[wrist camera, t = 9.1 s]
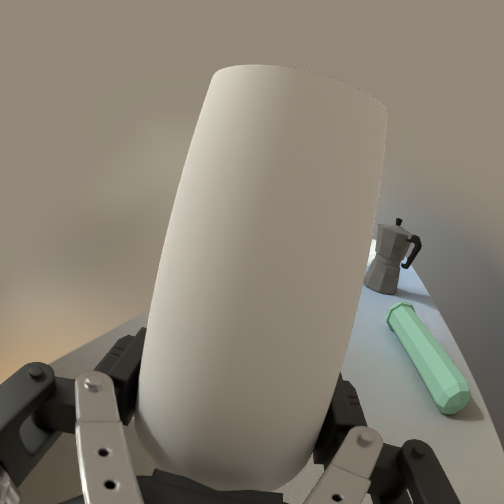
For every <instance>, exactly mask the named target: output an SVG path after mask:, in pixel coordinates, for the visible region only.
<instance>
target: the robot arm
mask: <svg viewBox="0 0 504 504" xmlns="http://www.w3.org/2000/svg"><path fill="white" fill-rule="evenodd" d="M146 331H147V328H144V327H142V328H141V329H140V331H139V332H138V333H137V335H136V336H135V337H134V336H131V335H127V336H125V337H123V338H121V339H119V340H118V341H117V342H116V343H115V345H114V346H113V347H112V348H111V350H110V351H109V353H107V354H106V356H105V357H104V358H103V359H102V360H101V362H100V363H99V364H98V365H97V367H96V368H95V369H94V370H93V371H86V372H83V373H81V374H80V375H78V376H77V378H76V379H67V378H61V377H55V375H54V371H53V369H52V368H51V367H50V366H49V365H47V364H44V363H41V362H32V363H28V364H26V365H24V366H23V367H22V368H20V369H19V370H18V371H17V372H16V373H14V374H13V375H12V376H11V377H9V378H8V379H7V380H6V381H5V382H3V383H2V384H1V385H0V504H20V493H19V491H18V489H17V488H18V487H19V485H20V484H21V483H22V482H23V480H24V479H25V478H26V477H27V475H28V474H29V473H30V472H31V470H32V469H33V468H34V467H35V466H36V464H37V463H38V462H39V461H40V459H41V458H42V457H43V456H44V455H45V453H46V452H47V451H48V450H49V448H50V447H51V446H52V445H53V444H54V442H55V441H56V440H57V439H58V438H59V436H60V435H61V434H62V433H63V432H66V433H72V434H76V442H77V452H78V461H79V468H80V476H81V482H82V489H83V495H80V496H78V497H75V498H72V499H70V500H67V501H64V502H61V503H58V504H288V503H286V502H283V493H274V492H266V491H258V490H233V491H218V490H215V489H212V488H210V487H207V486H205V485H203V484H200V483H198V482H196V481H194V480H192V479H189V478H187V477H184V476H180V475H176V474H173V473H169V472H165V471H162V470H158V469H155V470H154V473H153V475H152V476H136V475H135V471H134V468H133V464H132V460H131V457H130V453H129V449H128V445H127V441H126V437H125V432H124V428H123V425H126V426H128V424H129V422H130V420H131V418H132V416H133V415H134V413H135V405H136V397H137V389H138V382H139V375H140V368H141V361H142V355H143V348H144V342H145V336H146ZM313 459H314V464H324V473H323V474H322V476H321V477H320V479H319V481H318V482H317V484H316V485H315V487H314V488H313V489H312V491H311V492H310V494H309V495H308V497H307V498H306V500H305V501H304V502H303V504H361V503H362V501H363V499H364V497H365V495H366V493H368V494H370V495H371V499H372V502H373V504H412V502H411V500H410V497H409V495H408V492H407V489H408V490H409V493H410V495H411V497H412V500H413V504H461V503H460V501H459V499H458V497H457V496H456V494H455V492H454V490H453V488H452V486H451V484H450V482H449V480H448V478H447V476H446V474H445V472H444V470H443V469H442V467H441V465H440V463H439V461H438V459H437V457H436V455H435V454H434V452H433V450H432V448H431V447H430V446H429V445H428V444H426V443H425V442H423V441H420V440H416V439H412V440H408V441H406V442H405V443H404V444H403V446H402V447H401V448H400V447H396V446H392V445H389V444H385V443H383V439H382V437H381V435H380V434H379V433H378V432H377V431H375V430H374V429H372V428H369V427H367V423H366V420H365V417H364V414H363V411H362V408H361V405H360V402H359V399H358V395H357V392H356V389H355V388H354V387H353V386H352V385H351V383H350V382H349V381H344V380H343V379H342V375H341V372H340V374H339V377H338V380H337V383H336V386H335V390H334V393H333V396H332V399H331V402H330V405H329V408H328V411H327V414H326V417H325V420H324V422H323V425H322V428H321V431H320V434H319V436H318V439H317V442H316V444H315V447H314V450H313Z"/></svg>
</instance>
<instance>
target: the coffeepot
mask: <svg viewBox="0 0 504 504" xmlns="http://www.w3.org/2000/svg"><path fill="white" fill-rule="evenodd" d="M401 223H402V220H401V219H400V218H397V219H396V225H384V224H378V234H377V241H376V249H375V251H376V252H377V253H376V256H375V259H374V260H373V261H372V263H371V265H370V267H369V269H368V271H367V273H366V275H365V277H364V281H363V283H364V285H365V286H367V287H368V288H370V289H372V290H374V291H376V292H379V293H383V294H394V293H395V292H396V291H397V285H398V279H399V273H400V267H399V266H400V263H401V261H402V260H403V259H404V257H405V255H406V253H407V251H408V248H409V246H410V244H411V242H413V243H414V244H415V247H414V248H413V250H412V253H411V255H410V256H409V257H408V259H407V262H406V264H403V263H402V264H401V267H402V268H405V269H408V268H409V266H410V265H411V263H412V262H413V260H414V259H415V257H416V255H417V254H418V252H419V251H420V249H421V247H422V245H421V241H420V238H419V237H418V236H416V235H413V234H411V233H409V232H408V231H406V230H405V229H403V228H402V227H400V225H401Z"/></svg>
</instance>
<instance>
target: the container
mask: <svg viewBox="0 0 504 504" xmlns="http://www.w3.org/2000/svg"><path fill="white" fill-rule="evenodd" d="M385 320H386V322H387V324H388V326H389V328H390V330H392V331H394V332H395V333H396V335H397V337H398V338H399V340H400V342H401V343H402V345H403V347H404V348H405V350H406V352H407V354H408V355H409V357H410V359H411V360H412V362H413V364H414V366H415V367H416V369H417V371H418V373H419V374H420V376H421V378H422V380H423V381H424V383H425V385H426V387H427V389H428V391H429V392H430V394H431V396H432V398H433V400H434V402H435V403H436V405H437V407H438V409H439V411H440V412H442V413H444V414H455V413H457V412H458V411H460V410H462V409H463V408H465V406H466V405H467V403H468V401H469V400H470V398H471V397H470V389H469V385H468V382H467V381H466V379H465V378H464V377H463V375H462V374H461V372H460V371H459V370H458V368H457V367H456V366H455V364H454V363H453V361H452V360H451V359H450V357H449V356H448V355H447V353H446V352H445V351H444V349H443V348H442V347H441V345H440V344H439V343H438V342H437V340H436V339H435V338H434V336H433V335H432V334H431V332H430V331H429V330H428V329H427V327H426V326H425V325H424V324H423V322H422V321H421V320H420V318H419V317H418V316H417V315H416V313H415V311H414V309H413V306H412V305H411V303H407V302H402V301H399V302H398V303H396V304H395V305H393V306H391V307H390V308H389V310H388V312H387V315H386V318H385Z"/></svg>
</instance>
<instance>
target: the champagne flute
mask: <svg viewBox="0 0 504 504" xmlns="http://www.w3.org/2000/svg"><path fill="white" fill-rule="evenodd" d="M387 121H388V113H387V109H386V108H385V107H384V106H383V104H382V103H380V102H379V101H378V100H377V99H375V98H374V97H373V96H371V95H369V94H367V93H366V92H364V91H362V90H360V89H359V88H356V87H354V86H352V85H349V84H347V83H345V82H343V81H340V80H337V79H334V78H331V77H328V76H325V75H322V74H318V73H314V72H310V71H306V70H301V69H296V68H289V67H282V66H274V65H238V66H232V67H227V68H224V69H221V70H219V71H217V72H216V73H215V74H214V75H213V78H212V80H211V83H210V86H209V89H208V92H207V95H206V98H205V101H204V104H203V107H202V110H201V113H200V116H199V119H198V122H197V126H196V129H195V132H194V135H193V138H192V142H191V145H190V148H189V151H188V155H187V158H186V162H185V165H184V169H183V173H182V176H181V180H180V183H179V187H178V190H177V194H176V198H175V202H174V206H173V210H172V213H171V217H170V221H169V226H168V230H167V234H166V238H165V242H164V247H163V251H162V255H161V260H160V265H159V269H158V274H157V279H156V283H155V288H154V293H153V298H152V304H151V309H150V314H149V319H148V325H147V331H146V336H145V342H144V348H143V355H142V361H141V368H140V375H139V382H138V389H137V397H136V405H135V413H134V417H135V429H136V432H137V435H138V438H139V441H140V444H141V446H142V448H143V450H144V451H145V453H146V455H147V456H148V458H149V459H150V461H151V462H152V463H153V464H154V465H155V466H156V467H157V468H158V469H159V470H162V471H165V472H169V473H173V474H176V475H180V476H184V477H187V478H189V479H192V480H194V481H196V482H198V483H200V484H203V485H205V486H207V487H210V488H212V489H215V490H218V491H233V490H258V491H266V492H271V491H273V490H276V489H278V488H280V487H281V486H283V485H285V484H286V483H288V482H289V481H291V480H292V479H293V478H294V477H295V476H296V475H297V474H298V473H299V472H300V471H301V470H302V469H303V468H304V467H305V466H306V464H307V462H308V460H309V458H310V456H311V455H312V452H313V450H314V447H315V444H316V442H317V439H318V436H319V434H320V431H321V428H322V425H323V422H324V420H325V417H326V414H327V411H328V408H329V405H330V402H331V399H332V396H333V393H334V390H335V386H336V383H337V380H338V377H339V374H340V370H341V367H342V363H343V360H344V357H345V353H346V349H347V346H348V342H349V339H350V335H351V331H352V327H353V323H354V319H355V315H356V311H357V307H358V303H359V299H360V295H361V290H362V286H363V281H364V277H365V272H366V267H367V262H368V257H369V252H370V247H371V242H372V236H373V230H374V224H375V219H376V212H377V206H378V200H379V193H380V185H381V178H382V170H383V162H384V153H385V143H386V132H387Z"/></svg>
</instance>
